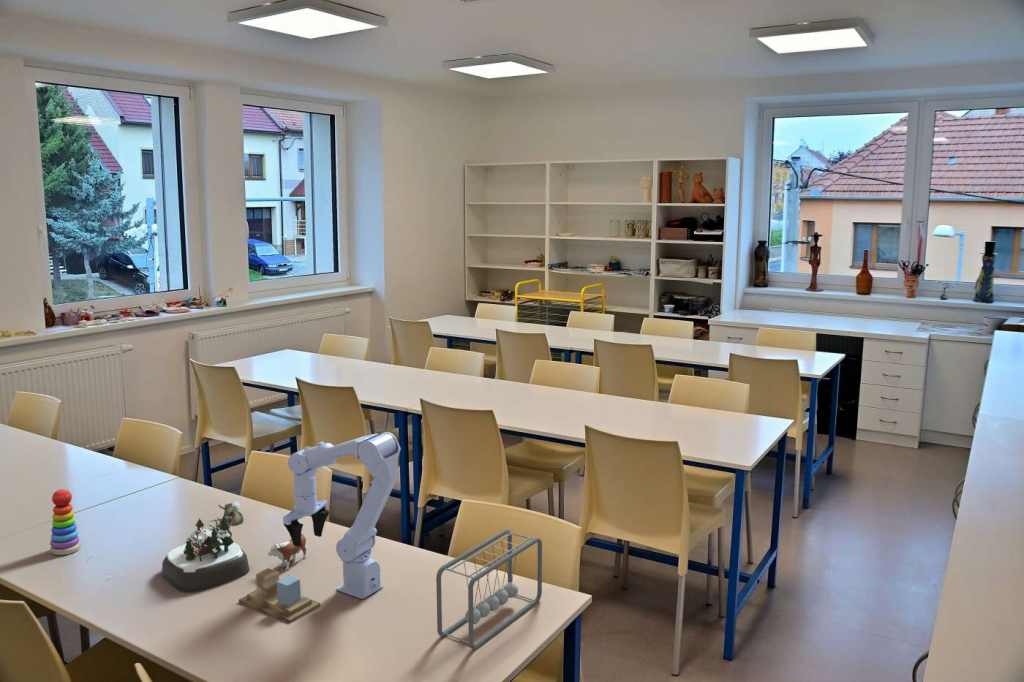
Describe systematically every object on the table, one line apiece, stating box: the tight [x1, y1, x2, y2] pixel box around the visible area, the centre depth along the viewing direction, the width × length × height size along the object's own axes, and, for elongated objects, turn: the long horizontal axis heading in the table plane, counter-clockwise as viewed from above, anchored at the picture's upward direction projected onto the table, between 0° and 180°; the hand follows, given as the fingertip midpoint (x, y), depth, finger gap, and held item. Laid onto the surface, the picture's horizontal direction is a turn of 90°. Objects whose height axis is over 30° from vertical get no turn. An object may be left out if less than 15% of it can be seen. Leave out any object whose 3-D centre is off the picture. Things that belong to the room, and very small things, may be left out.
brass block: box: [255, 567, 280, 598], centre depth 209 cm, size 4×4×6 cm
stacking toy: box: [49, 488, 82, 556], centre depth 237 cm, size 8×8×19 cm
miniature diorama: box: [161, 515, 251, 594], centre depth 224 cm, size 20×20×17 cm
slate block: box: [277, 575, 302, 606], centre depth 205 cm, size 4×4×6 cm
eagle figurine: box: [218, 501, 244, 527], centre depth 260 cm, size 8×7×9 cm
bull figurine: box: [267, 533, 307, 572], centre depth 229 cm, size 4×13×8 cm, turn 152°
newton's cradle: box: [435, 528, 543, 650], centre depth 199 cm, size 30×10×18 cm, turn 145°
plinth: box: [238, 589, 321, 624], centre depth 207 cm, size 19×10×2 cm, turn 57°
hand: (307, 540), depth 221 cm, fingers open, 7 cm apart
